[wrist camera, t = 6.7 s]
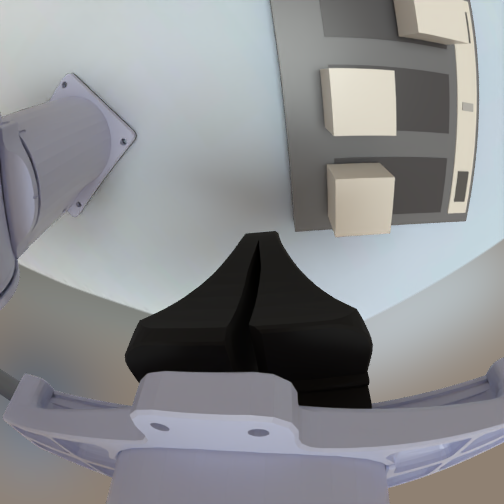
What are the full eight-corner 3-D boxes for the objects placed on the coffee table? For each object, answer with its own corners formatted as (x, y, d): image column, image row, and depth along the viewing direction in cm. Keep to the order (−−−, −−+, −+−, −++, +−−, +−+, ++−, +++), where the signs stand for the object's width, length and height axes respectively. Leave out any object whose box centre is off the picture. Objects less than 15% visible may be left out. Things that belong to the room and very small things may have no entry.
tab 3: (398, 36, 13) (418, 32, 10) (390, -14, 11) (408, -25, 8) (445, 44, 12) (469, 43, 10) (438, -4, 10) (460, -11, 8)
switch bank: (294, 221, 22) (295, 233, 21) (265, -26, 13) (265, -34, 11) (457, 212, 21) (466, 222, 19) (457, -4, 11) (470, -7, 10)
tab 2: (327, 216, 20) (335, 237, 17) (326, 164, 18) (335, 179, 16) (376, 212, 19) (390, 233, 17) (379, 162, 17) (394, 177, 15)
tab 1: (324, 127, 17) (333, 136, 14) (319, 69, 15) (328, 68, 12) (379, 126, 16) (396, 135, 14) (376, 70, 14) (394, 70, 12)
